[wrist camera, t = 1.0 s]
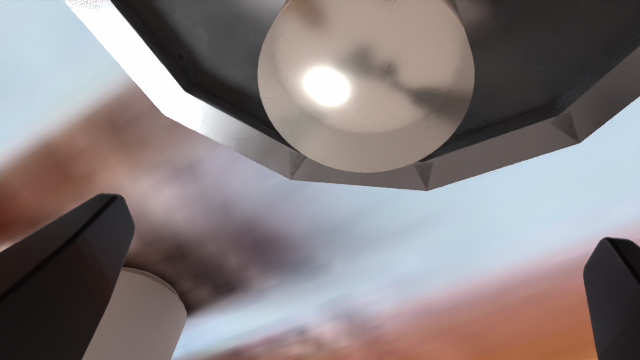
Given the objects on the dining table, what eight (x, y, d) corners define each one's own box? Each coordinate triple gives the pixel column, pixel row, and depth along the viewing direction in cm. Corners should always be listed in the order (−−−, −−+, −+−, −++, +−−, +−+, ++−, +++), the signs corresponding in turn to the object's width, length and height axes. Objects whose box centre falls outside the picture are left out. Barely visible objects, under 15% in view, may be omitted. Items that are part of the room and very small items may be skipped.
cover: (471, -67, 14) (500, -19, 10) (439, 100, 18) (450, 179, 14) (285, -72, 14) (246, -28, 11) (292, 91, 18) (266, 165, 15)
